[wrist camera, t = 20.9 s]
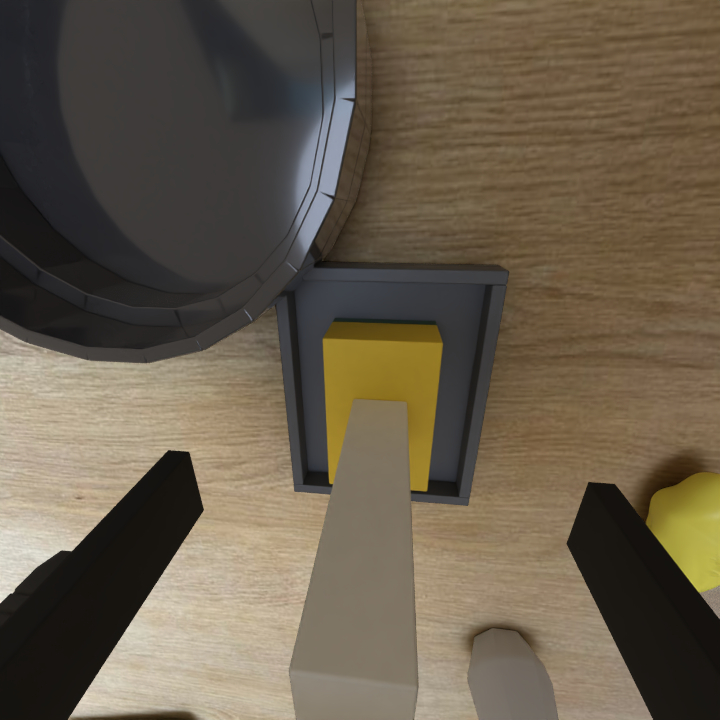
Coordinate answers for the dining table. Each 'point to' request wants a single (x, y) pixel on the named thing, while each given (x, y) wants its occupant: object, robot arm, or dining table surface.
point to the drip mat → (395, 302)
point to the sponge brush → (368, 523)
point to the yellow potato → (690, 527)
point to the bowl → (172, 165)
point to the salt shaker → (509, 679)
